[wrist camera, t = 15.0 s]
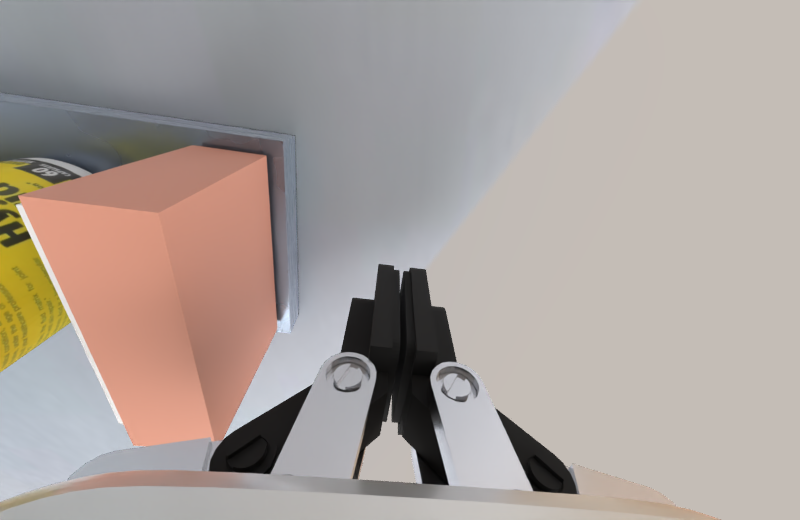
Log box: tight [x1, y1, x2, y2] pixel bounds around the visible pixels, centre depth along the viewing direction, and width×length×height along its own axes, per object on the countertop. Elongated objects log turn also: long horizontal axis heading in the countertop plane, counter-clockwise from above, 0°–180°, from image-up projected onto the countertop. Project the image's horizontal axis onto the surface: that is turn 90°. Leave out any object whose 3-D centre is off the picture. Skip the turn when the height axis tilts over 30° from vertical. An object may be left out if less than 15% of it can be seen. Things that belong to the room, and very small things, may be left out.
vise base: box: [0, 93, 299, 333], centre depth 11 cm, size 15×9×8 cm, turn 82°
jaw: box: [16, 145, 277, 446], centre depth 10 cm, size 3×8×6 cm, turn 172°
